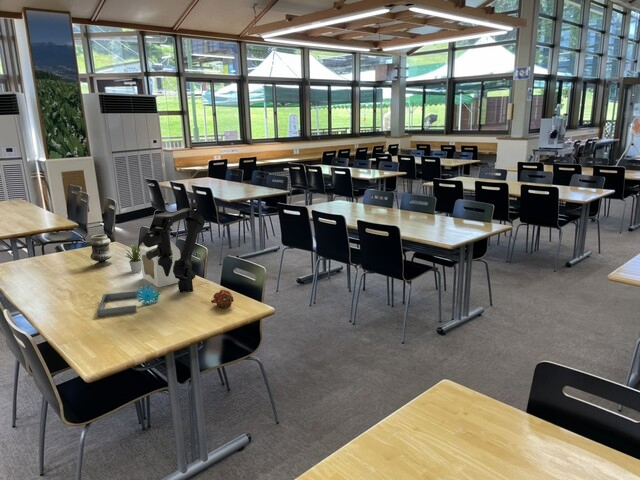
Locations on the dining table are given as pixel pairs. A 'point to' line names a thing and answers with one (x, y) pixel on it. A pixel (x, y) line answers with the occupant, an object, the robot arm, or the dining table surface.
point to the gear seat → (116, 310)
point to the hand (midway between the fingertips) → (167, 274)
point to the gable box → (158, 267)
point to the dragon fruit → (222, 298)
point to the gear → (148, 295)
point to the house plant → (134, 259)
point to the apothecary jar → (100, 250)
